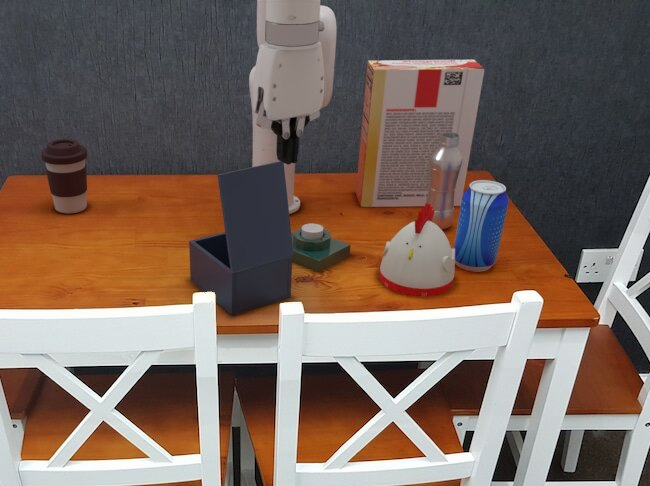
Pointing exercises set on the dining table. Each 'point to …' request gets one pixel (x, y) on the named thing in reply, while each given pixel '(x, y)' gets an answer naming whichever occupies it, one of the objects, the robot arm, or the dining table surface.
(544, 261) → the dining table surface
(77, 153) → the coffee cup
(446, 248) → the kitchen timer
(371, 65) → the cereal box
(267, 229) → the lid
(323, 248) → the push button base
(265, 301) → the box
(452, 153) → the plastic bottle
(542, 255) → the dining table surface
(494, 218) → the beer can
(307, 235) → the white button
